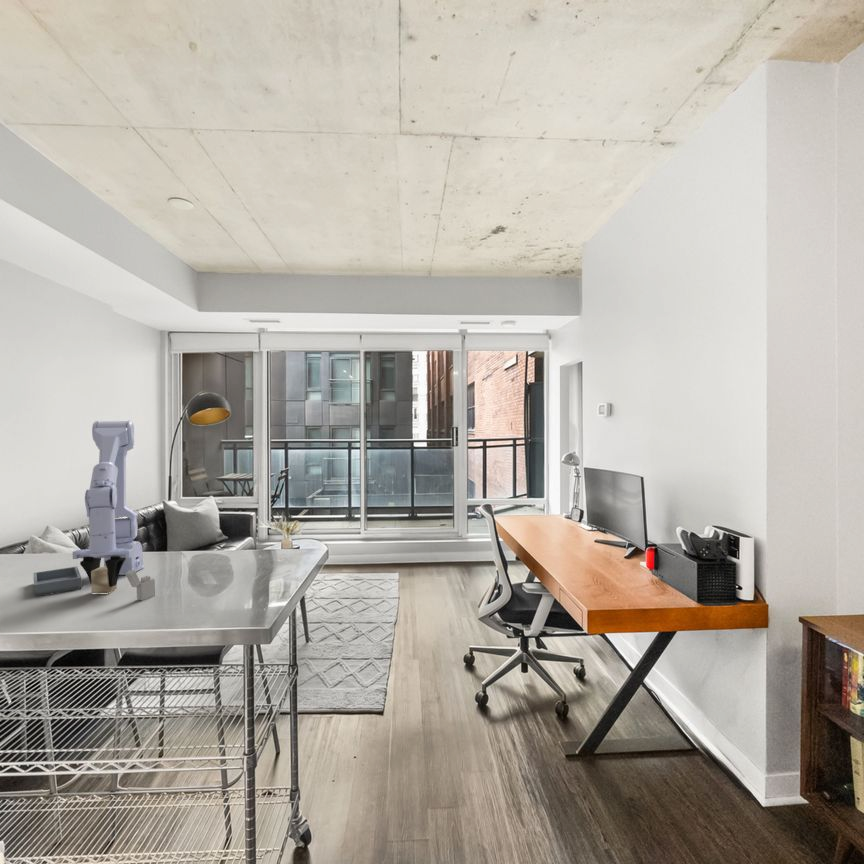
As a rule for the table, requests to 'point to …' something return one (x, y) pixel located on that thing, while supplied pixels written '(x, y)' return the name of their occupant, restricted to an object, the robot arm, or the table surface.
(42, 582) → the tray
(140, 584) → the lighter
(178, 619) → the table surface
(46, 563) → the table surface
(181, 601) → the table surface
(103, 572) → the block
